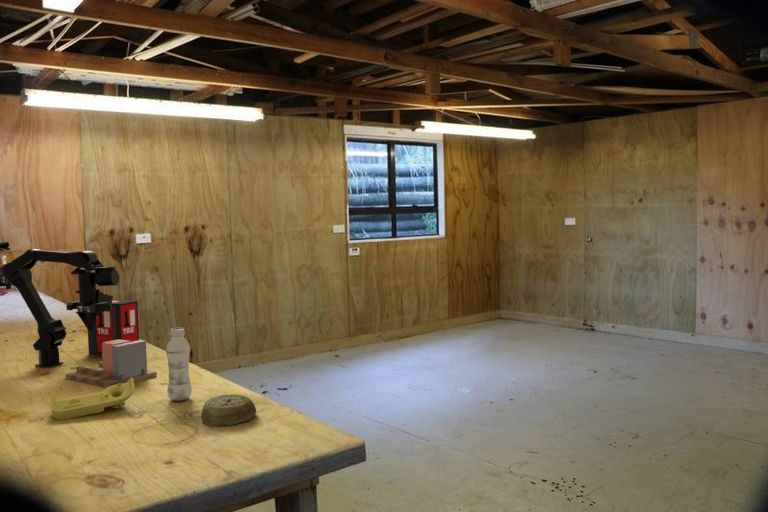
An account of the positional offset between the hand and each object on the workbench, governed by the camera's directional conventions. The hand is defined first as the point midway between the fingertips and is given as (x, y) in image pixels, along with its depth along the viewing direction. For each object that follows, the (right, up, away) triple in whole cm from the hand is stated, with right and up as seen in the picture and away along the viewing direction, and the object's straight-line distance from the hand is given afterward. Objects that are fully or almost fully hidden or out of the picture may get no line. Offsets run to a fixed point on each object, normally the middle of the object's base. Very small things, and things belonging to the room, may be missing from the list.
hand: (90, 330), depth 213 cm
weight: (+65, -15, -61) cm, 90 cm away
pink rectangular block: (+18, -11, -20) cm, 29 cm away
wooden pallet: (+16, -13, -18) cm, 27 cm away
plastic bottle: (+47, -14, -45) cm, 66 cm away
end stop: (+24, -11, -23) cm, 35 cm away
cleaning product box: (0, -11, +20) cm, 23 cm away
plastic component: (+27, -15, -53) cm, 61 cm away
